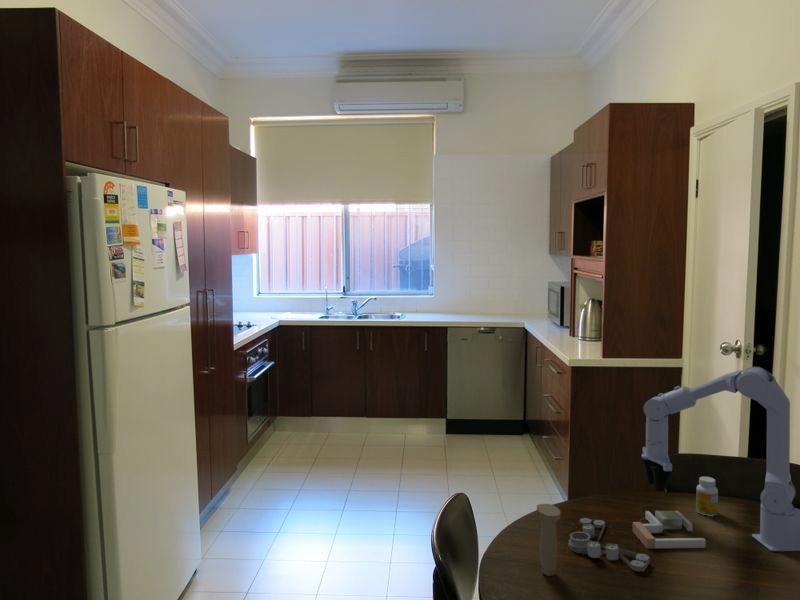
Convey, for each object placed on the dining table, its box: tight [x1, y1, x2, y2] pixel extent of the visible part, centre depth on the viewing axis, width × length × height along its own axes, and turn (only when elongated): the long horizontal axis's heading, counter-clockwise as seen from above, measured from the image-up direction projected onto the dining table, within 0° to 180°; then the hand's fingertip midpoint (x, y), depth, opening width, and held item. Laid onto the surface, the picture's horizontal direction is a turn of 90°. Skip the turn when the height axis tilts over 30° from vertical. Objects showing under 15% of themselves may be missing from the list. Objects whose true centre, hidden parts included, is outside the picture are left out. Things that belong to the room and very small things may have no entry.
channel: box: [642, 510, 707, 549], centre depth 149 cm, size 14×16×2 cm
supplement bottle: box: [695, 476, 719, 517], centre depth 159 cm, size 5×5×10 cm
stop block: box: [632, 521, 656, 549], centre depth 145 cm, size 2×9×2 cm, turn 179°
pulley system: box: [568, 517, 651, 573], centre depth 142 cm, size 27×5×15 cm
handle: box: [536, 503, 561, 577], centre depth 130 cm, size 5×6×15 cm
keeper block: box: [654, 510, 683, 530], centre depth 153 cm, size 5×5×3 cm
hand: (656, 487), depth 160 cm, fingers open, 4 cm apart
